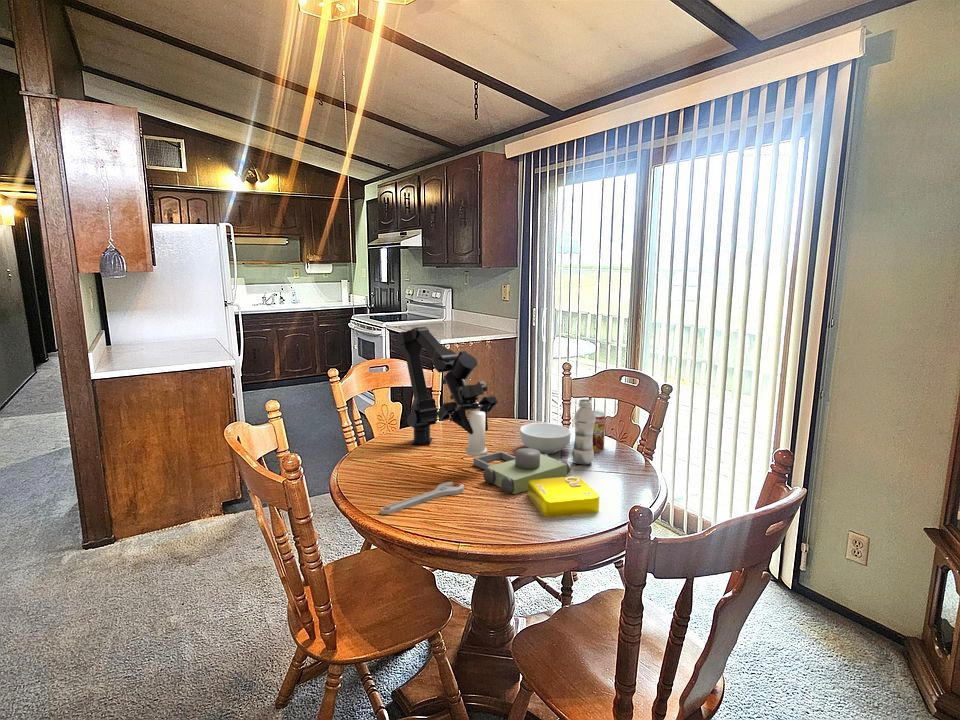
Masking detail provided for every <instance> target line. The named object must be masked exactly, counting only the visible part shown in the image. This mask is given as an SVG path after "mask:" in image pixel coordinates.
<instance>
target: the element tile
mask: <svg viewBox="0 0 960 720" xmlns="http://www.w3.org/2000/svg"><path fill="white" fill-rule="evenodd" d="M527 497H528V498H529V500H530V501H531V502H532V503H533V505H534V506H535V508H536V509H537V510H538V511H539V513H540V514H541V515H542V516H544V517H546V518H556V517H557V518H559V517H567V516H577V515H586V514H587V515H588V514H595V513H598V512H599V511H600V495H599V493H597V492H596V491H595V490H594V489H593V487H591V486H590V485H589V484H588V483H587V482H585V480H583V479H582V478H581V477H580V476H577V475H571V476H567V477H557V478H546V479H534V480H530V481H529V482H528V490H527Z"/></svg>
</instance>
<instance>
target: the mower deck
mask: <svg viewBox="0 0 960 720" xmlns="http://www.w3.org/2000/svg"><path fill="white" fill-rule="evenodd" d="M514 452H515V454H514V455H512V454H509V453H507V452H504V451H502V450H500V451H497V452H492V453H487V454H486V455H483V456H475V457H474V458H473V465H474V466H476V467H479V468H480V469H483V470H484V471H483V479H484V481H485V483H486V484H488V485H490V484H493V485H495V486H496V487H499V488H501V489H502V491H503V492H504V493H505V494H510V493H511V494H512V495H517V494H519V493H523V492H527V491H528V482H529V481H530V480H534V479H546V478H557V477H568V475H570V472H571V468H570V465H569V463H568V462H567V461H565V460H564V461H559V460H557V459H556V458H555V459H554V458H552V457H550V456H549V454H543V453H540V452H539V451H538V450H536V449H531V448H528V447H524V448H523V447H522V448H518V449H516V450H515V451H514ZM496 459H497V460H500V459H502V460H504V461H505V462H500V463H497V464H491V463H489V462H492V461H496Z"/></svg>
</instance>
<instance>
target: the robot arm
mask: <svg viewBox="0 0 960 720" xmlns="http://www.w3.org/2000/svg"><path fill="white" fill-rule="evenodd" d="M395 340H396V344H397V346H398V350H399V352H400V354H402V355H403V356H404V357H405V359H406V360H405V361H406V364H407V370H408V375H409V379H410V380H409V381H410V386H411V391H412V395H413V400H412V403H411V407H410V408H411V412H410V413H409V415H408V417H407V419H406V420H407V421H406V422H407V426H409V427H411V428H413V439H412V441H411V442H410V443H411V445H427V446H428V445H429V446H430V445H431V444H432V441H433V439H434V438H433V437H431V425H436V423H437V420H438V419H439V421H446V420H449V421H450V422H453V423H454V424H456V425H457V426H459V427H461V428H462V429H463V430H464V431H466V432H467V434H468V433H469V434H472V433H473V431H472V428H471V426H470V423H469V421H468V417H467V415H466V412H467V411H468V412H469V411H483V412H485V432H488V430H489V424H488V413H490V412H492V410H493V409H494V408H495V407H496V406H497V404H498V403H499V401H498V398H497V397H496V395H487V396H483V397H482V398H481V400H480V401H478V400H479V398H480V397H479V396H482V395H485V392H487V391H488V386H487V383H486V382H485V381H484V380H481V381H479V382H477V383H476V384H468V383H467V381H466V380H467V379H468V378H470V376H471V374H472V373H473V372H474V371H475V369H476V368H477V366H478V360H477V359H476V358H475V356H473V355H472V354H470V353H467V350H461V351H459V352H458V354H457V352H455V351H453V350H452V349H448V348H446V347H444V346H443V345H442V344H441V343H440V341H438V340H437V339H436V337H435V336H434V335H433V334H432V333H431V332H430V330H429V328H428V327H426V326H420V327H417V326H416V327H414V328H411V329H410V330H406V331H400V332H399V333H398V335H397V336H396V339H395ZM422 349H424V350H425V351H426V353H427V354H428V355H429V356H430V357H431V358H432V361H431V362H432V363H431V364H432V365H433V367H434V369H435V370H436V371H437V373H446V374H445V375H443V379H442V382H441V383H442V385H446V386H447V388H448V390H449V393H450V396H449V398H450V400H453V401H451V402H445V403H443V404H442V405H441V407H440V408H439V410H438V408H437V404H436V399H435V398H432V397H431V396H430V395H429V394H428V388H427V384H426V379H425V373H424V368H423V363H422V358H421V352H422Z"/></svg>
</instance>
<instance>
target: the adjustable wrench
mask: <svg viewBox="0 0 960 720" xmlns="http://www.w3.org/2000/svg"><path fill="white" fill-rule="evenodd" d="M464 491H465V485H464V484H463V483H461V484H460V485H459V486H454V481H447V482H443V483H440V484H438V485H437V486H436V488H434V489H433V490H430V491H428V492H424V493H421V494H418V495H416V496H413V497H409V498H406V499H404V500H400V501H397V502H394V503H391V504H388V505H385V506H383V507H381V508H380V514H381V513H382V514H381V515H383V514H389V515H391V514H390V513H392V512H394V513H396V512H395V511H397V512H400V511H402V510H401V509H403V510H405V509H404V508H406V509H408V508H411V507H413V505H414V506H416V505H417V506H418V505H420V504H423V503H425V502H428V501H430V500H433V499H437V498H440V497H444V496H454V495H459V494H462V493H463V492H464ZM407 507H408V508H407ZM385 510H387V511H385ZM399 510H400V511H399ZM392 514H393V513H392Z"/></svg>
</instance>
